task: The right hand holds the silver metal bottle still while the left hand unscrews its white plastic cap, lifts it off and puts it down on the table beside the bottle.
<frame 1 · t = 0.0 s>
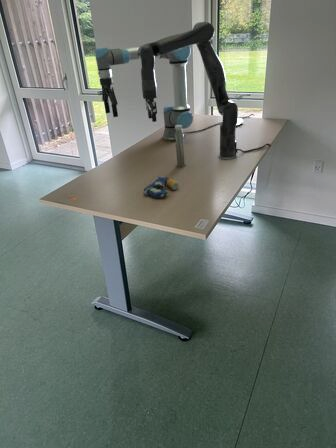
left hand: (111, 114, 206), 28 cm above the table, tool pointing down, fingers open, 13 cm apart
right hand: (152, 119, 182), 29 cm above the table, tool pointing down, fingers open, 8 cm apart
spoon: (233, 127, 260), on the table
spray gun: (162, 190, 173), on the table
cap: (178, 126, 188), point 24 cm above the table, screwed on, not yet turned
bottle: (180, 165, 200), on the table
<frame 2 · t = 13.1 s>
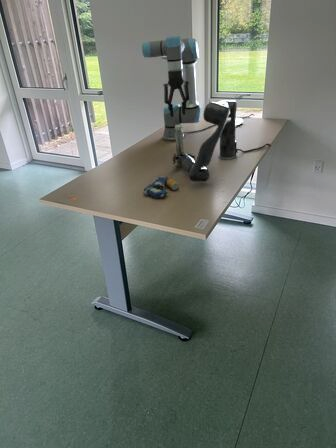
left hand: (177, 115, 185), 30 cm above the table, tool pointing down, fingers open, 6 cm apart
right hand: (178, 154, 199), 6 cm above the table, tool horizontal, fingers closed on bottle, 4 cm apart
bottle: (180, 165, 200), on the table, touching right hand
everything else where it was.
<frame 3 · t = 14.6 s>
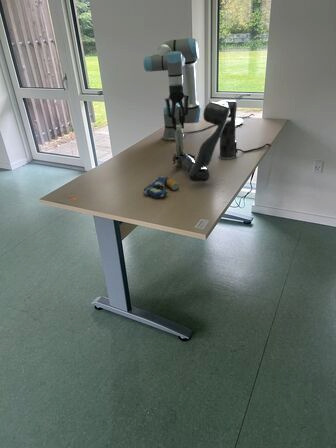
left hand: (178, 128, 189), 22 cm above the table, tool pointing down, fingers closed on cap, 4 cm apart
right hand: (178, 154, 199), 6 cm above the table, tool horizontal, fingers closed on bottle, 4 cm apart
cap: (178, 126, 188), point 24 cm above the table, screwed on, not yet turned, touching left hand
bottle: (180, 165, 200), on the table, touching right hand
everything else where it was.
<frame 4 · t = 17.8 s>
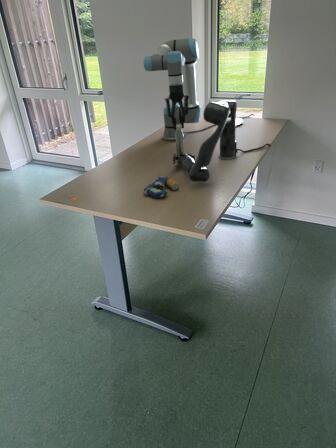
left hand: (178, 128, 189), 22 cm above the table, tool pointing down, fingers closed on cap, 4 cm apart
right hand: (178, 154, 199), 6 cm above the table, tool horizontal, fingers closed on bottle, 4 cm apart
cap: (178, 126, 188), point 24 cm above the table, turned 97° so far, risen 0.1 cm, still on its thread, touching left hand
bottle: (180, 165, 200), on the table, touching right hand
everything else where it was.
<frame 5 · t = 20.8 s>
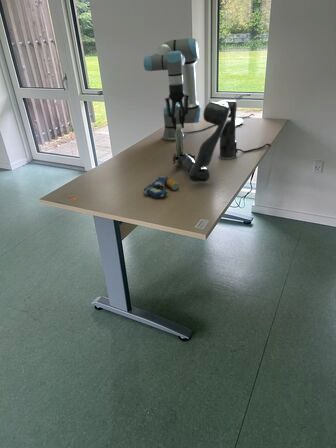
left hand: (178, 128, 189), 23 cm above the table, tool pointing down, fingers closed on cap, 4 cm apart
right hand: (178, 154, 199), 6 cm above the table, tool horizontal, fingers closed on bottle, 4 cm apart
cap: (178, 125, 188), point 24 cm above the table, turned 195° so far, risen 0.2 cm, still on its thread, touching left hand
bottle: (180, 165, 200), on the table, touching right hand
everything else where it was.
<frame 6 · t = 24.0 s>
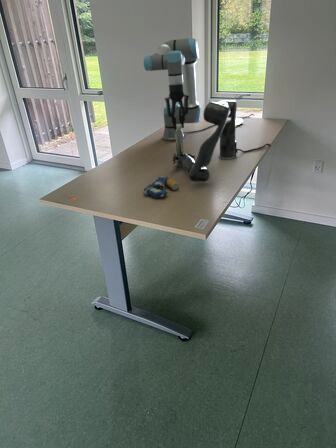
left hand: (178, 127, 189), 23 cm above the table, tool pointing down, fingers closed on cap, 4 cm apart
right hand: (178, 154, 199), 6 cm above the table, tool horizontal, fingers closed on bottle, 4 cm apart
cap: (178, 125, 188), point 24 cm above the table, turned 292° so far, risen 0.3 cm, still on its thread, touching left hand
bottle: (180, 165, 200), on the table, touching right hand
everything else where it was.
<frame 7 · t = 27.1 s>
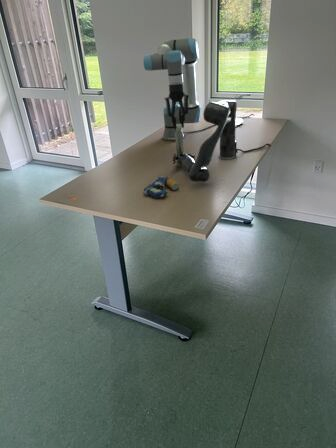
left hand: (178, 127, 189), 23 cm above the table, tool pointing down, fingers closed on cap, 4 cm apart
right hand: (178, 154, 199), 6 cm above the table, tool horizontal, fingers closed on bottle, 4 cm apart
cap: (178, 125, 188), point 24 cm above the table, turned 390° so far, risen 0.5 cm, still on its thread, touching left hand
bottle: (180, 165, 200), on the table, touching right hand
everything else where it was.
when the left hand's fingers open (1 cm above the table, at t = 33.6 s): cap stays where it is, point 1 cm above the table.
when the right hand's fingers open (6 cm above the table, at t = 34.9 s): bottle stays where it is, on the table.
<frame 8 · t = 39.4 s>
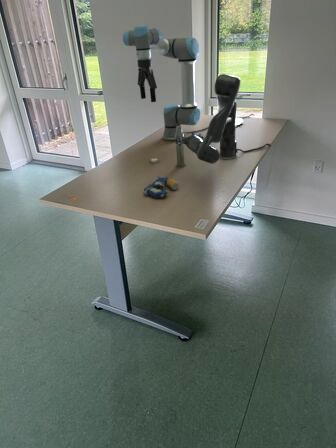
left hand: (148, 100, 190), 37 cm above the table, tool pointing down, fingers open, 13 cm apart
right hand: (185, 136, 180), 21 cm above the table, tool horizontal, fingers open, 8 cm apart
cap: (154, 159, 209), point 1 cm above the table, off its thread
bottle: (180, 165, 200), on the table
everything else where it was.
at the end: cap came off its thread; cap point 1.2 cm above the table; the left hand is holding nothing; the right hand is holding nothing; bottle tilted 0°; bottle moved 0.0 cm from its start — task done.
